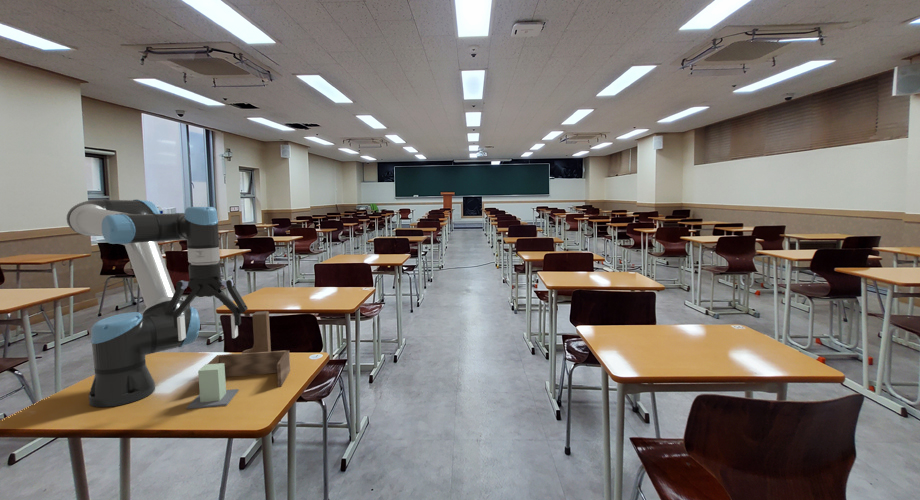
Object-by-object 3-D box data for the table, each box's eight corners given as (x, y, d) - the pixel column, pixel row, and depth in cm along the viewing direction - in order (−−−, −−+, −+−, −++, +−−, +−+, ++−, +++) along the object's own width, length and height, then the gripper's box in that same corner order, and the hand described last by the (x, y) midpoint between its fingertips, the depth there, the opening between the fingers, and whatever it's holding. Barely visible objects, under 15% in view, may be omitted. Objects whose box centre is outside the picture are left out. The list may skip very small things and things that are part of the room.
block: (200, 402, 120) (198, 370, 119) (207, 394, 125) (205, 364, 124) (219, 400, 120) (217, 369, 120) (226, 393, 125) (224, 363, 125)
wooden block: (240, 367, 147) (237, 315, 146) (244, 362, 152) (241, 312, 150) (269, 364, 150) (266, 313, 148) (271, 360, 154) (268, 310, 152)
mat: (186, 408, 117) (186, 407, 117) (201, 393, 127) (201, 391, 126) (226, 405, 119) (226, 403, 118) (238, 390, 128) (238, 388, 128)
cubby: (202, 392, 127) (200, 369, 126) (218, 376, 140) (217, 355, 139) (281, 386, 131) (280, 364, 130) (290, 370, 144) (289, 350, 143)
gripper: (146, 265, 113) (152, 344, 115) (249, 263, 117) (252, 339, 120) (161, 262, 120) (166, 336, 122) (256, 260, 125) (260, 331, 127)
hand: (209, 338), depth 121 cm, fingers open, 13 cm apart
